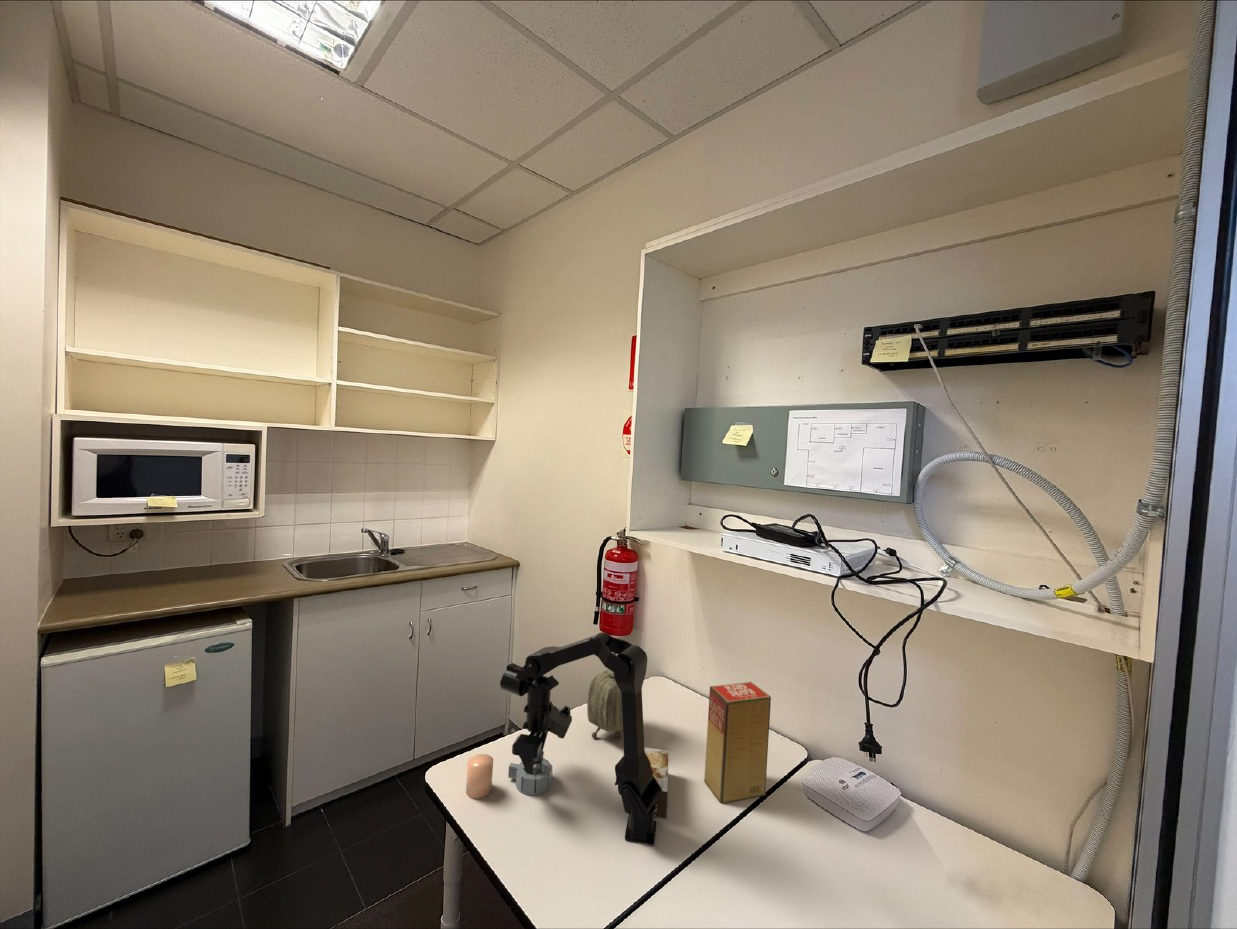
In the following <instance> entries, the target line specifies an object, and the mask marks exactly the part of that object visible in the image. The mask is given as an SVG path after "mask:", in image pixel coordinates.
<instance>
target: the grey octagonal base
mask: <svg viewBox="0 0 1237 929" xmlns="http://www.w3.org/2000/svg"><path fill="white" fill-rule="evenodd" d="M536 772H538V773H541V774H538V775H530V774H529V773H527V772H526V769H525V767H524V765H523V763H522V761H520V763H514V762H513V763H512V762H510V763H509V766H508V775H507V777H508V778H510V779H515V787H516V789H517V791H518V792H519V793H521V794H523V795H525V796H538V795H541V794H544V793H546V792H547V791H548V790H549V789H550V788H551V786H552V783H553V782H552V780H553V764H551V763H550V761H549V760H548V759H546V758H544V757H543V761H542V762H540V763H538V764H537V771H536Z"/></svg>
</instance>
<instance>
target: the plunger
mask: <svg viewBox="0 0 1237 929" xmlns="http://www.w3.org/2000/svg"><path fill="white" fill-rule="evenodd" d="M544 753H545V752H544V749H543V750H541V752H540V754H539V755H538V757H536V758H535V761H534V766H533V770H532V773H531V774H530V775H538V774H541V773H538V772H536V771H537V764H538V763H540V762H542V761H543V758H544V755H545V754H544Z"/></svg>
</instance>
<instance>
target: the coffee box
mask: <svg viewBox="0 0 1237 929" xmlns="http://www.w3.org/2000/svg"><path fill="white" fill-rule="evenodd" d="M644 750H645V753H646V755H647V757H648V759H649V760H650V763H651V768H652V773H653V776H654V777H655V779H656V781H657V782H658V784H659V785H660V787H661V788H662V792H661V794H660V796H659V798H658V799H657V800H656V802H655V817H659V818H665V819H666V818H667V811H668V792H669V791H668V789H669V754H670V753H669V750H664V749H660V748H651V747H646V746H644Z"/></svg>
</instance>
